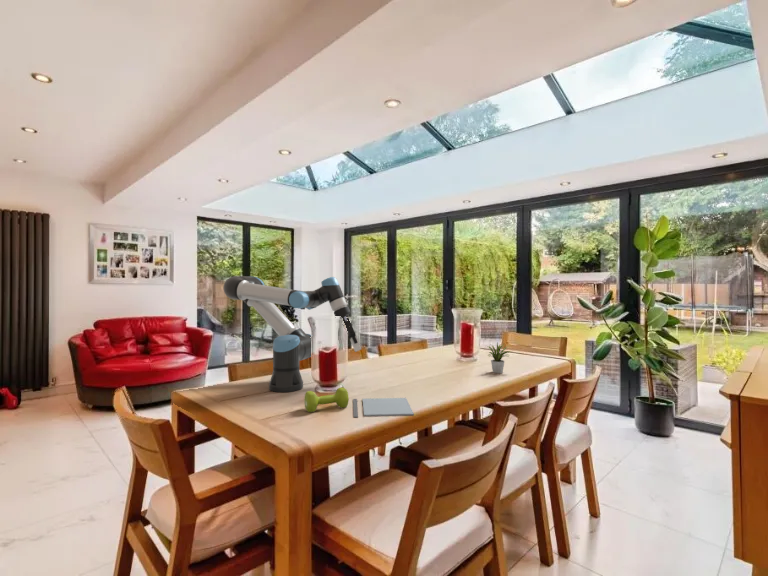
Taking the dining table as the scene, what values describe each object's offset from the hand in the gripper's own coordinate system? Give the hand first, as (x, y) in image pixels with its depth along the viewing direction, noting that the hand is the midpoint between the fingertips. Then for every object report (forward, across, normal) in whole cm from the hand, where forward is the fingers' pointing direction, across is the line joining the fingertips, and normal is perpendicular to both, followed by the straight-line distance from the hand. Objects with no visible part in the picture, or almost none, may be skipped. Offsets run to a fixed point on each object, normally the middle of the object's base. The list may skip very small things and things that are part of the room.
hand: (358, 350), depth 183 cm
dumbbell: (+16, -28, +21) cm, 38 cm away
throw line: (+20, -28, +11) cm, 36 cm away
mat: (+24, -28, 0) cm, 37 cm away
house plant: (+41, +26, -65) cm, 81 cm away
